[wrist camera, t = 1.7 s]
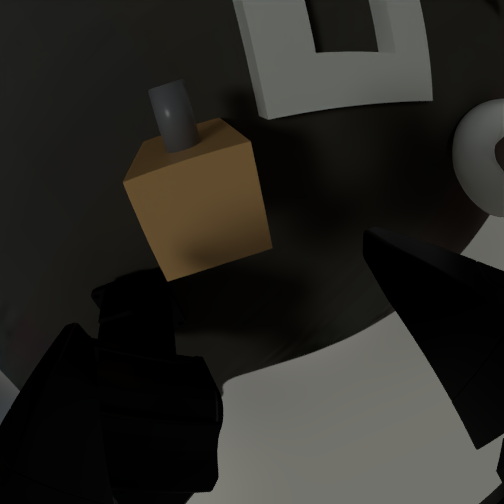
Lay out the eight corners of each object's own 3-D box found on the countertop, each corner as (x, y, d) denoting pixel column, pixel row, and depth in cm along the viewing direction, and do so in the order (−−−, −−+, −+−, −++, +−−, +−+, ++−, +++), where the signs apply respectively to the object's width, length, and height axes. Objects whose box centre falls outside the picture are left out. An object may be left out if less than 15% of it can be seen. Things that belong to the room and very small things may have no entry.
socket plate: (416, 96, 18) (437, 102, 16) (258, 115, 17) (271, 121, 15) (388, -47, 10) (409, -53, 8) (215, -62, 9) (222, -79, 7)
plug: (236, 186, 19) (272, 248, 13) (167, 208, 19) (167, 281, 13) (208, 74, 15) (233, 65, 8) (130, 98, 14) (96, 109, 8)
